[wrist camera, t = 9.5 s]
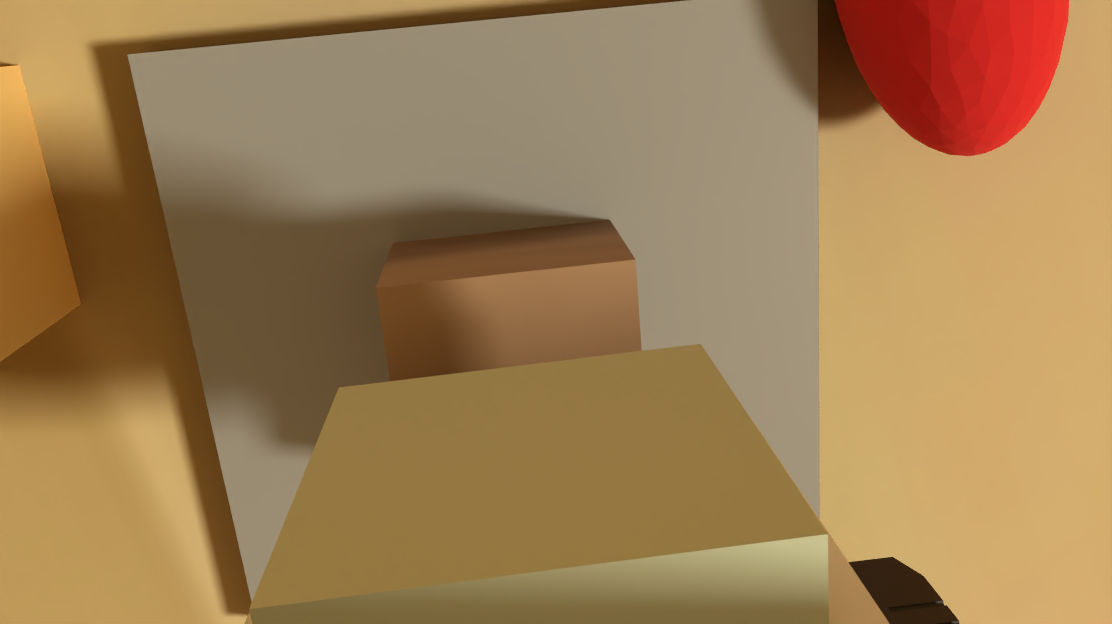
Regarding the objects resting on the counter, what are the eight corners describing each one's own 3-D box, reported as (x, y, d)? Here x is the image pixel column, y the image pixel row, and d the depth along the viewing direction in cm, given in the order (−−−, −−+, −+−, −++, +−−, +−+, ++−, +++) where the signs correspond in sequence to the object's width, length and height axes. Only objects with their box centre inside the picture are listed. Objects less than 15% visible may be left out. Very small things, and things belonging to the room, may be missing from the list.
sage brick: (338, 387, 15) (248, 609, 9) (701, 343, 15) (827, 533, 10) (390, 662, 17) (340, 993, 11) (716, 618, 17) (833, 921, 11)
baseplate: (145, 52, 22) (127, 54, 21) (800, -11, 23) (817, -12, 22) (270, 617, 27) (261, 643, 26) (805, 550, 28) (819, 573, 27)
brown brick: (393, 242, 23) (375, 288, 19) (610, 219, 23) (635, 259, 19) (425, 461, 25) (415, 542, 21) (626, 437, 25) (652, 513, 21)
